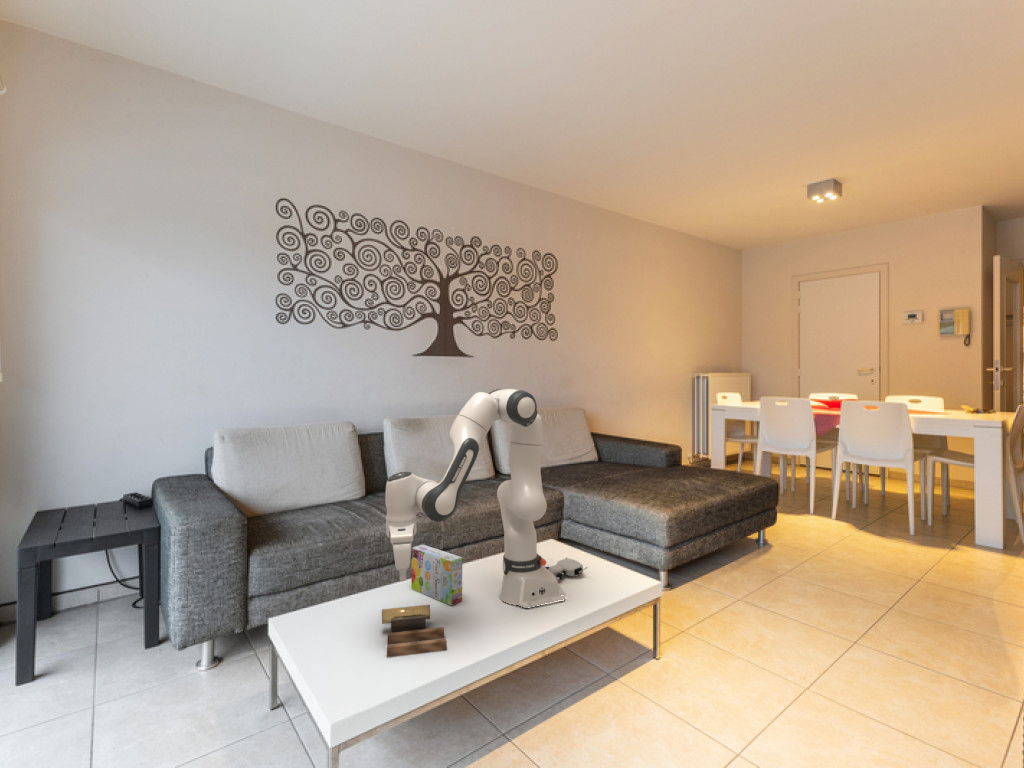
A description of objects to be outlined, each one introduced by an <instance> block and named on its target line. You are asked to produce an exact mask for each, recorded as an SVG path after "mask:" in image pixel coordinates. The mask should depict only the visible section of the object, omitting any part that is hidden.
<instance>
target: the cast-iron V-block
mask: <svg viewBox="0 0 1024 768" xmlns="http://www.w3.org/2000/svg"><path fill="white" fill-rule="evenodd" d="M419 606H421V605H419ZM409 607H411V606H409ZM399 608H401V607H399ZM422 629H427V619H426V615H419V616H409V617H400V618H391V623H390V633H394V632H403V631H413V630H422Z"/></svg>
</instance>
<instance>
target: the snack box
mask: <svg viewBox="0 0 1024 768" xmlns="http://www.w3.org/2000/svg"><path fill="white" fill-rule="evenodd" d="M463 560H464V559H463V557H462V556H459V555H456V554H453V553H450V552H448V551H444V550H441V549H438V548H435V547H433V546H432V547H431V546H428V545H426V544H422V543H421V544H420V545H416V546H413V547H411V577H410V579H411V582H410V583H411V584H410V585H411V588H410V589H411V590H413V591H415V592H418V593H420V594H423V595H425V596H427V597H430V598H432V599H434V600H436V601H439V602H442V603H443V604H446V605H449V606H454V605H457V604H458V603H462V602H463Z"/></svg>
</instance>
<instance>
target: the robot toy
mask: <svg viewBox="0 0 1024 768" xmlns="http://www.w3.org/2000/svg"><path fill="white" fill-rule="evenodd" d="M544 567H545V568H546V569H548V570H549V571H550V572H552V573H553V574H554V575H555V577H556V579H557V581H561V580H562V579H563V577H564V576H568V577H573V576H576V575H578V576H580V575H582V574H583V572H584V571H585V570H586V569H588V566H586V567H585V568H584V566H583V564H582V563H581V562H579V561H578V560H576V559H572V558H568V556H567V557H565V558H564V559H560V560H558V561H557V562H556V564H555V565H551V566H544ZM576 577H577V576H576Z"/></svg>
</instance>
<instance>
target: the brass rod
mask: <svg viewBox="0 0 1024 768" xmlns="http://www.w3.org/2000/svg"><path fill="white" fill-rule="evenodd" d="M419 615H426V620H430V619H431V605H430V604H422V605H421V606H420V605H413V606H411V607H410V606H402V607H401V608H400V607H392V608H383V609H381V625H388V624H391V618H400V617H409V616H419Z"/></svg>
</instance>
